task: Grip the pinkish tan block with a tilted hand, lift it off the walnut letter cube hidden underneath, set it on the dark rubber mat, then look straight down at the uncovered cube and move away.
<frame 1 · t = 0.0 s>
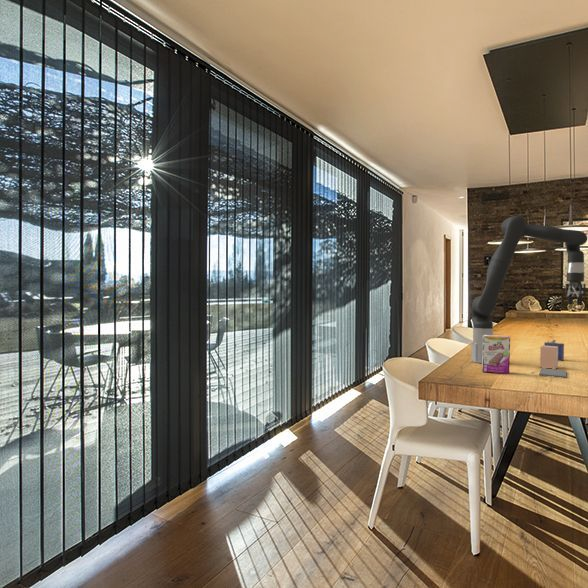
hand: (574, 304, 238), 29 cm above the table, tool pointing down, fingers open, 8 cm apart
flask: (553, 360, 249), on the table
letter cube: (549, 363, 225), in the pinkish tan block
pinkish tan block: (548, 367, 225), on the table
rubber mat: (553, 373, 210), on the table
candy bar box: (495, 372, 213), on the table
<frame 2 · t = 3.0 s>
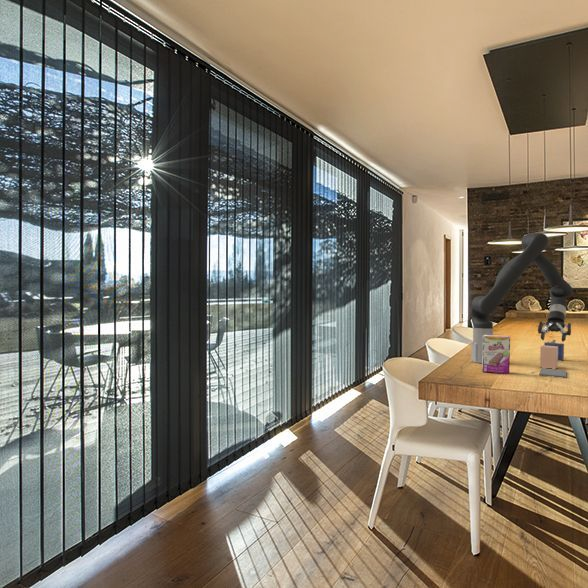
hand: (552, 339, 232), 12 cm above the table, tool tilted 45°, fingers open, 8 cm apart
nothing on the table moved.
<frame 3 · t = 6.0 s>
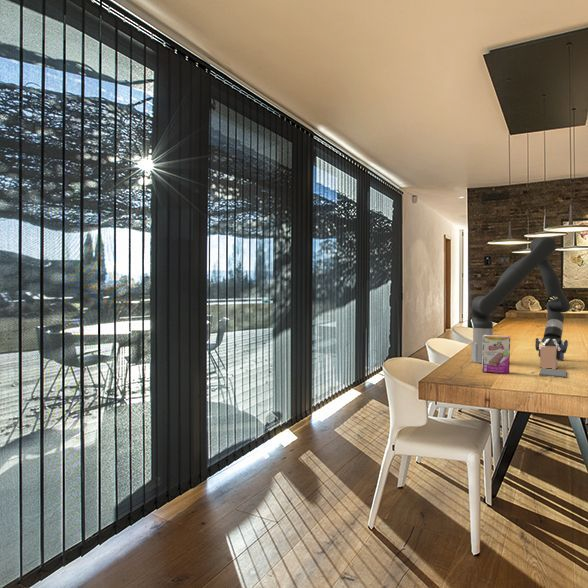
hand: (548, 357, 225), 5 cm above the table, tool tilted 45°, fingers closed on pinkish tan block, 6 cm apart
pinkish tan block: (548, 367, 225), on the table, touching gripper
everything else where it was.
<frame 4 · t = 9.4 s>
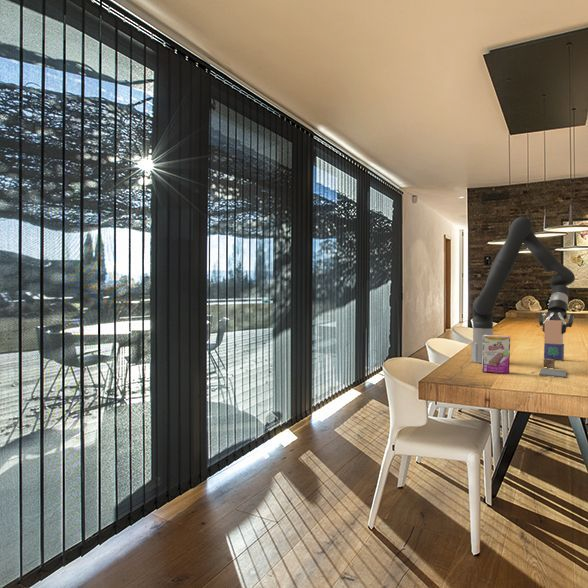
hand: (553, 332, 210), 18 cm above the table, tool tilted 45°, fingers closed on pinkish tan block, 6 cm apart
pinkish tan block: (553, 343, 211), point 13 cm above the table, touching gripper
everything else where it was.
when the fingers open (7 cm above the table, at t = 12.8 s): pinkish tan block drops 2 cm, resting on rubber mat.
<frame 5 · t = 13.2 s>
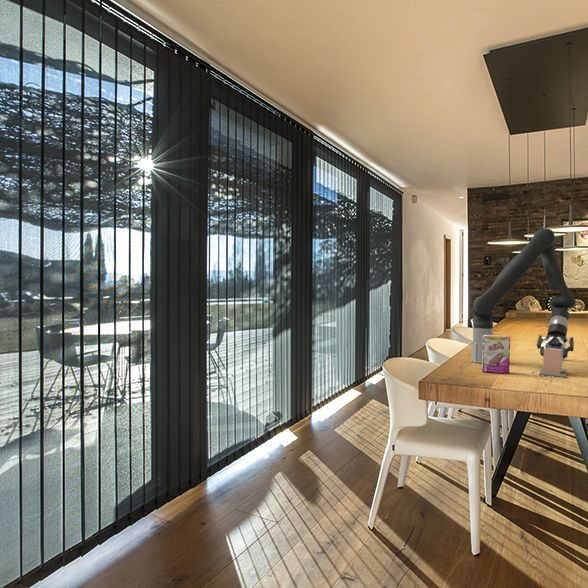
hand: (553, 356, 209), 8 cm above the table, tool tilted 45°, fingers open, 8 cm apart
pinkish tan block: (552, 372, 210), point 1 cm above the table, touching rubber mat
everything else where it was.
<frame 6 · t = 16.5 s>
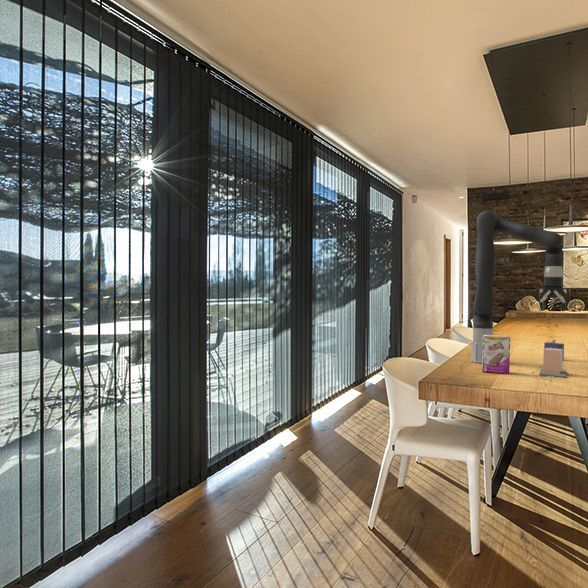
hand: (552, 310, 224), 27 cm above the table, tool pointing down, fingers open, 8 cm apart
nothing on the table moved.
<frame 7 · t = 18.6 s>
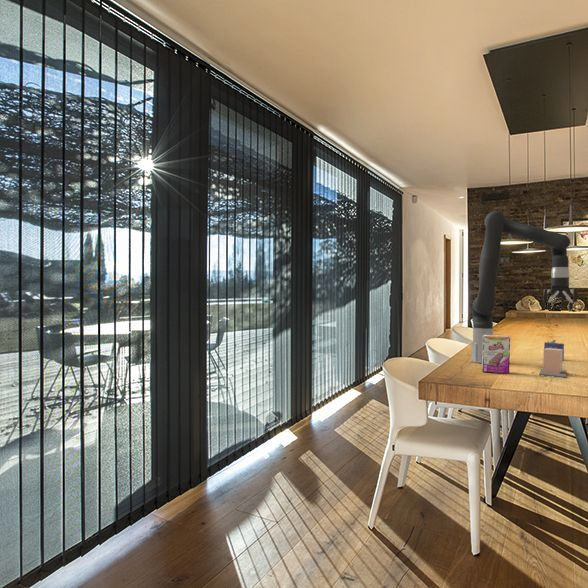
hand: (559, 310, 230), 27 cm above the table, tool pointing down, fingers open, 8 cm apart
nothing on the table moved.
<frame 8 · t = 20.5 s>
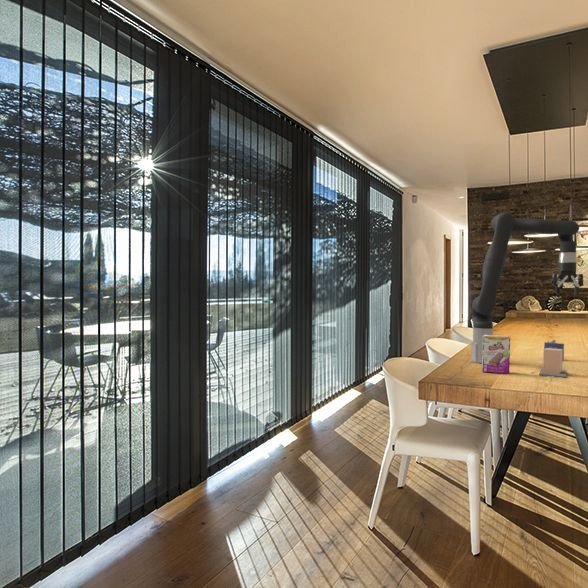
hand: (567, 294, 236), 34 cm above the table, tool pointing down, fingers open, 8 cm apart
nothing on the table moved.
at the end: pinkish tan block inside the target area on the rubber mat (0.2 cm from its centre), point 0.8 cm above the rubber mat's base; pinkish tan block tilted 0°; the gripper is holding nothing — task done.
